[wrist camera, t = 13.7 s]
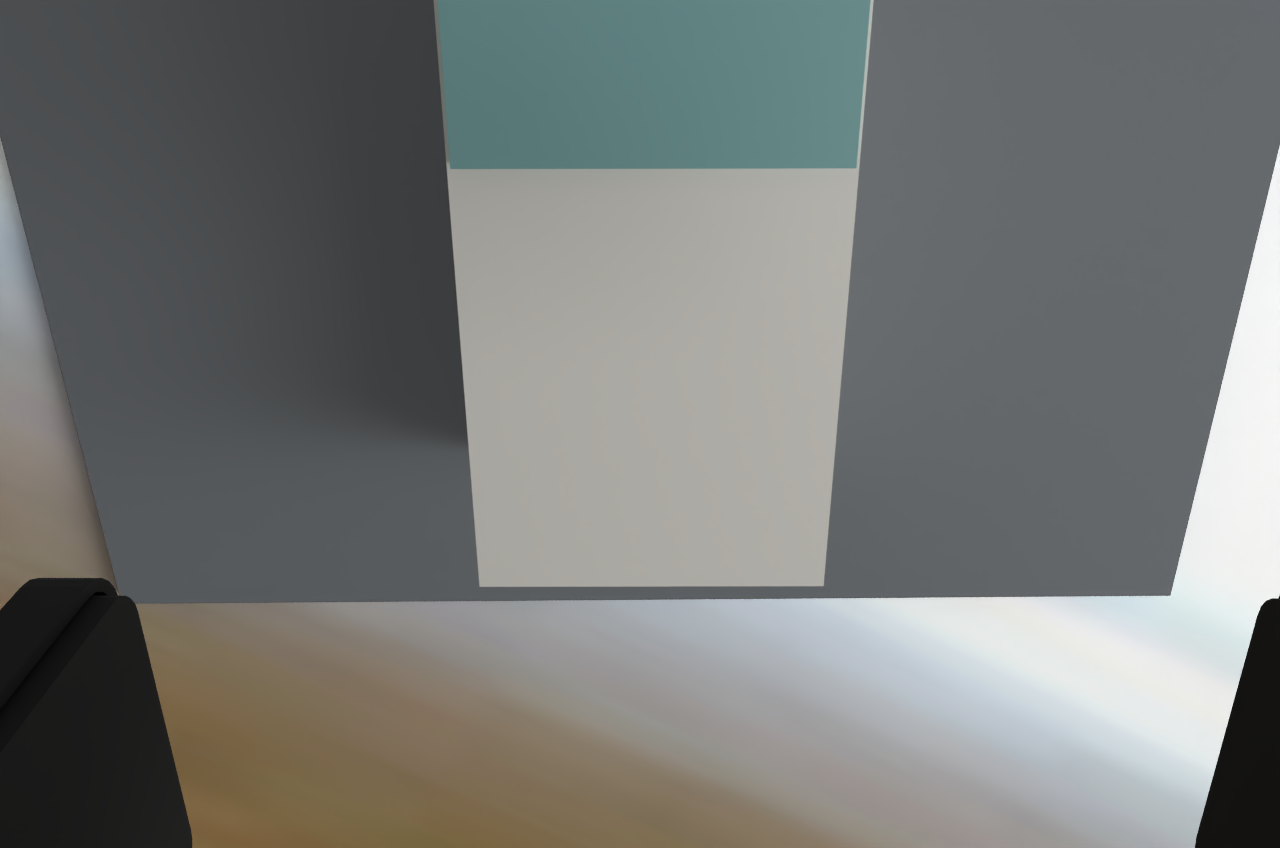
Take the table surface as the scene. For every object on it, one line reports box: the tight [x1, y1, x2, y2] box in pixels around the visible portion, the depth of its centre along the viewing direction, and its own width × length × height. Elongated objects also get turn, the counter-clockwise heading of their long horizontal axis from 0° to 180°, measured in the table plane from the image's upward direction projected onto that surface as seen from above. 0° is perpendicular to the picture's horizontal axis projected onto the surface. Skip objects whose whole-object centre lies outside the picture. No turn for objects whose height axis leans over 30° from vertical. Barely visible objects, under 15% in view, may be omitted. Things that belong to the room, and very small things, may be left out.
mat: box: [0, 0, 1280, 604], centre depth 22 cm, size 24×18×1 cm
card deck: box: [434, 0, 874, 587], centre depth 20 cm, size 10×6×5 cm, turn 0°
